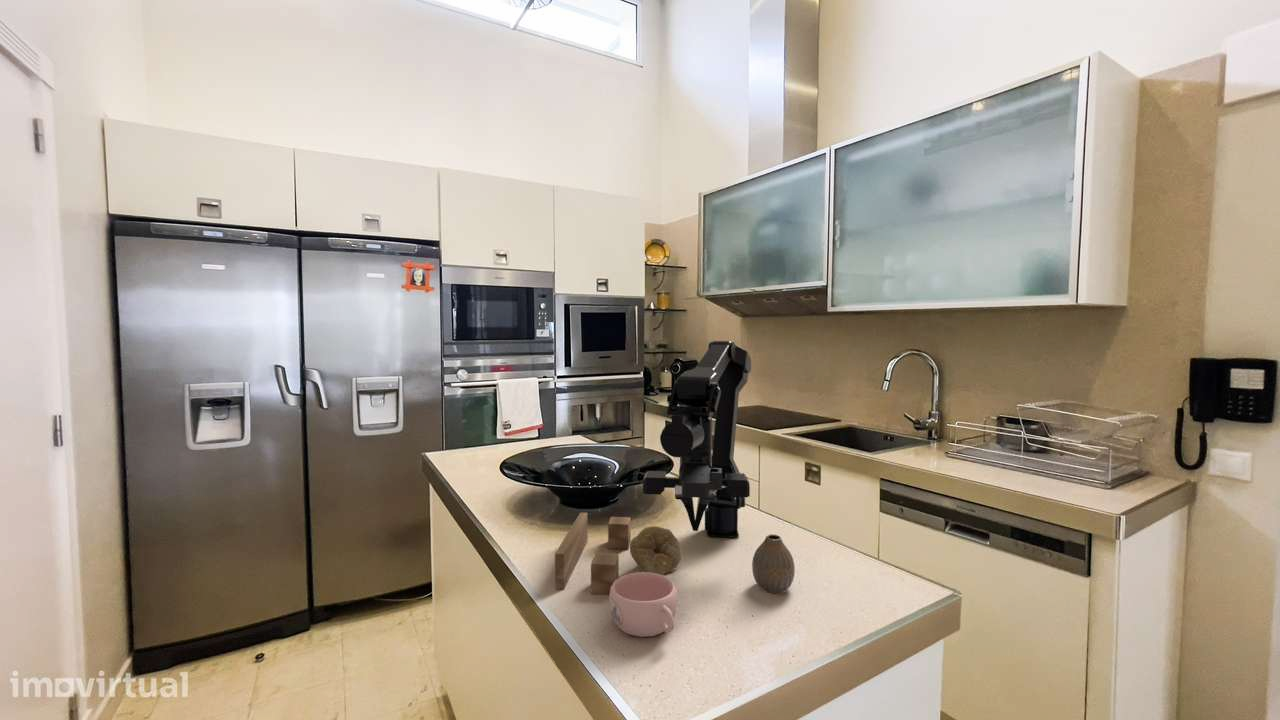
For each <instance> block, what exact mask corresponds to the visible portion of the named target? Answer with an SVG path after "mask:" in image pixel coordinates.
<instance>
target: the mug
mask: <svg viewBox="0 0 1280 720" xmlns="http://www.w3.org/2000/svg"><path fill="white" fill-rule="evenodd" d="M608 596H609V597H608V601H609V603H608V604H609V605H608V606H609V610H610V615H611V616H612V619H613V620H614V623H615V625H616V626H617V627H618V628H619V629H620V630H621V631H622V632H623V633H626V634H627V635H631V636H634V637H641V638H644V637H654V636H657V635H660V634H661V633H667V634H670V633H672V632H673V630H674V628H675V620H674V618H675V616H676V614H677V613H676V612H677V608H678V601H679V600H678V591H677V587H676V585H675V583H674V582H673V581H672V580H671V579H670V578H668V577H667V576H665V575H660V574H656V573H651V572H642V571H636V572H631V573H626V574H624V575H621V576H620V577H619V578H618V579H617V580H616V581H614V583H613V584H612V586H611V589H610V594H609V595H608Z"/></svg>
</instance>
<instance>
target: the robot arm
mask: <svg viewBox="0 0 1280 720" xmlns="http://www.w3.org/2000/svg"><path fill="white" fill-rule="evenodd" d="M750 356H751V355H750V354H749V353H748V351H747V350H745V349H743V348H741V347H739V346H737V345H736V343H735V342H734V341H731V340H712V341H710V342H709V343H708V346H707V350H706V352H705V353H704V355H703V356H702V358H701V359H700V361H699V362H698V364H697V365H696V366H695V368H691V369H688V370H686V371H684V372H682V373H681V374H680V375H679V376H678V377H677V379H676V380H675V382H674V383H673V387H672V390H671V394H670V397H669V403H668V405H667V406H668V407H667V411H666V414H667V416H668V415H669V416H671V422H670V423H668V424H666V426H664V427H663V429H662V431H661V434H660V435H659V441H660V445H661V447H662V448H661V449H663V451H664V452H665V453H666V454H667V455H668V456H670V457H673V458H679V468H678V476H674V477H673V476H667V471H664V470H663V471H661V470H647V471H646V472H645V474H644V476H643V479H642V494H645V495H659V496H660V495H661V494H662V493H664V492H665V489H674V491H675V493H674V498H675V500H680V501H681V502H682V505H683V507H684V508H685V510H686V513H687V516H688V519H689V523H690V525H691V529H692V531H693V532H698V531H699V527H700V525H701V522H702V519H703V516H704V531H706V534H707V537H717V538H718V537H719V538H739V536H740V535H739V530H738V526H739V525H738V523H739V522H738V521H739V520H738V519H739V516H738V515H739V511H738V510H740V509H741V508H745V507H746V498H748V497H751V496H750V493H751V488H750V487H751V486H750V481H749V479H748V477H747V475H746V474H745V473H744V472H743V473H741V472H740V470H739V467H738V466H737V464H736V462H735V460H734V457H735V455H734V454H735V446H736V445H735V444H736V430H737V422H738V421H737V418H738V408H739V407H738V406H739V396H740V392H741V391H742V390H743V388H744V387H745V386H746V384H747V383H748V378H749V374H750V373H751V370H752V359H751V357H750ZM714 414H715V420H714V421H715V422H714V432H713V416H714ZM693 498H697V505H696V510H695V508H694V501H693ZM695 511H696V512H695Z"/></svg>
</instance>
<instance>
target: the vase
mask: <svg viewBox="0 0 1280 720" xmlns="http://www.w3.org/2000/svg"><path fill="white" fill-rule="evenodd" d="M795 566H796V565H795V561H794V557H793V555H792V553H791V551H790V550H789V548H787V546H786V545H785V543H784V541H783V539H782V537H781V536H780V535H779V534H767V535H766V536H765V538H764V540H763V542H762V543H761V544H760V545H759V546H758V547H757V548H756V550H755V552H754V555H753V557H752V563H751V567H752V568H751V569H752V575H753V579H754V581H755V583H756V584H757V586H758V587H759V588H760V589H761V590H762V591H763V592H765V593H769V594H772V595H775V594H776V595H778V594H783V593H785V592H786V591H787V590H788V589H789V588H790V587H792V586H791V585H792V583H793V581H794V578H795V572H796V570H795V569H796V568H795Z"/></svg>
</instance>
